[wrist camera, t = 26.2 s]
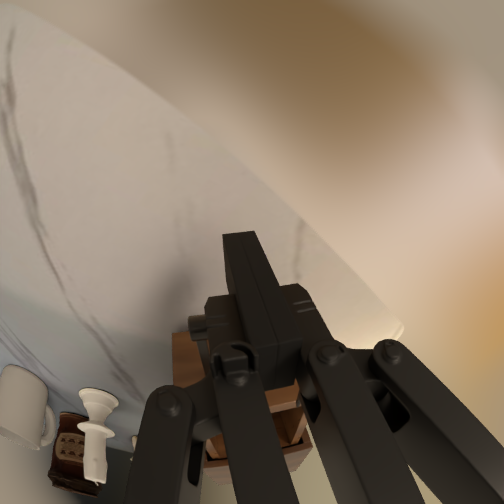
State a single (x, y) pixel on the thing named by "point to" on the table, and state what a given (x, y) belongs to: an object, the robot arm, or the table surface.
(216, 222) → the table surface
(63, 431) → the coffee cup
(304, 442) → the cabinet
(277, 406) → the drawer
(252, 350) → the robot arm
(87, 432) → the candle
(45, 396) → the cup
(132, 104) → the table surface
